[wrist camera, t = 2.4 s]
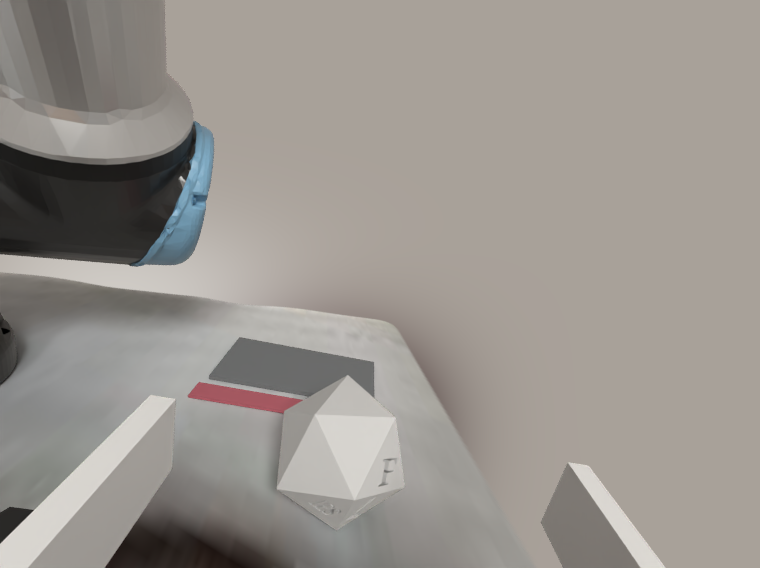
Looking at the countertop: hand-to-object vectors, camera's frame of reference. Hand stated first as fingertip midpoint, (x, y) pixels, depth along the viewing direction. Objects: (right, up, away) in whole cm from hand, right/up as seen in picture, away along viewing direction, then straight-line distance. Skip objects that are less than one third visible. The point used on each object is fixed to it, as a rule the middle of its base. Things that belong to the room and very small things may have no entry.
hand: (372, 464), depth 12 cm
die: (-3, -9, +13) cm, 16 cm away
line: (-8, -5, +21) cm, 23 cm away
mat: (-8, -3, +26) cm, 28 cm away
